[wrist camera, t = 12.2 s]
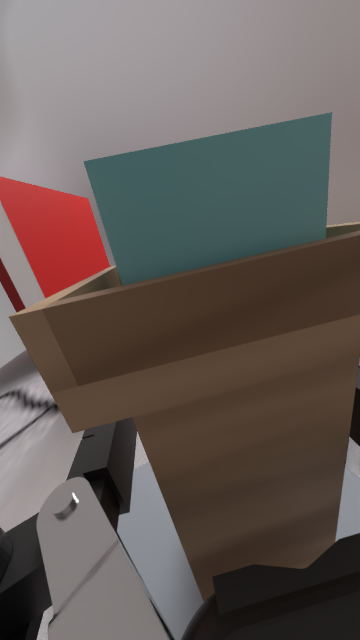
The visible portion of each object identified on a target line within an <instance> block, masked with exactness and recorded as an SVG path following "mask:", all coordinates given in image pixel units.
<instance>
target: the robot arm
mask: <svg viewBox="0 0 360 640" xmlns="http://www.w3.org/2000/svg"><path fill="white" fill-rule="evenodd" d="M136 436H137V429H136V426H135V424H134V421H133V418H132V417H131V418H127V419H124V420H120V421H116V422H112V423H109V424H105V425H101V426H97V427H94V428H90V429H86V430H85V431H84V434H83V437H82V440H81V442H80V445H79V448H78V450H77V453H76V456H75V458H74V461H73V464H72V466H71V469H70V472H69V474H68V477H67V480H66V481H65V482H64V483H62V484H61V485H59V486H58V487H57V488H56V489H55V490H54V491H53V492H52V493H51V494H50V495H49V497H48V498H47V499H46V501H45V502H44V504H43V506H42V507H41V509H40V512H39V513H37V514H36V515H34V516H32V517H31V518H29V519H27V520H26V521H24V522H22V523H21V524H19V525H17V526H16V527H14V528H12V529H11V530H9V531H7V532H6V533H5V532H4V531H3V530H2V529H1V528H0V640H36V639H37V635H38V632H39V628H40V624H41V620H42V617H43V613H44V611H45V610H46V609H48V608H49V607H50V606H52V605H53V613H54V614H53V618H52V619H51V621H50V622H49V625H48V640H175V638H174V636H173V634H172V632H171V631H170V629H169V627H168V625H167V623H166V621H165V619H164V618H163V616H162V614H161V612H160V610H159V608H158V607H157V605H156V603H155V601H154V599H153V598H152V596H151V594H150V592H149V590H148V588H147V586H146V585H145V583H144V581H143V579H142V577H141V575H140V573H139V571H138V570H137V568H136V566H135V564H134V562H133V560H132V558H131V556H130V554H129V553H128V551H127V549H126V547H125V545H124V543H123V541H122V539H121V538H120V536H119V534H118V532H117V527H118V520H119V515H122V514H125V513H129V512H130V503H131V492H132V481H133V470H134V458H135V447H136ZM349 436H350V437H351V438H352V439H353V440H354V441H355V442H356V443H357V444H358V445H359V446H360V366H358V374H357V381H356V389H355V396H354V404H353V411H352V419H351V427H350V434H349ZM212 579H213V584H214V590H215V592H214V593H213V594H212V595H211V596H210V597H208V598H207V599H206V600H205V602H204V603H203V604H202V605H201V606H200V607H199V608H198V610H197V611H196V613H195V614H194V616H193V617H192V619H191V620H190V622H189V624H188V626H187V628H186V630H185V632H184V634H183V636H182V638H181V640H360V533H358V534H354V535H351V536H348V537H344V538H341V539H338V540H337V541H336V542H335V543H334V544H333V545H332V546H331V547H329V548H328V549H327V550H326V551H325V552H324V553H323V554H322V555H321V556H319V557H318V558H317V559H316V560H315V561H314V562H313V563H312V564H310V565H309V566H308V567H307V568H303V569H298V568H288V567H278V566H267V565H257V564H253V565H250V566H246V567H243V568H240V569H236V570H233V571H229V572H226V573H223V574H219V575H216V576H213V577H212Z"/></svg>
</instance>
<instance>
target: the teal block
mask: <svg viewBox="0 0 360 640" xmlns="http://www.w3.org/2000/svg"><path fill="white" fill-rule="evenodd" d="M331 120H332V112H331V113H326V114H321V115H316V116H311V117H306V118H301V119H296V120H291V121H286V122H280V123H276V124H271V125H265V126H261V127H255V128H250V129H245V130H240V131H235V132H230V133H225V134H220V135H215V136H210V137H205V138H200V139H195V140H189V141H184V142H180V143H174V144H170V145H165V146H160V147H154V148H149V149H144V150H139V151H134V152H129V153H124V154H119V155H114V156H109V157H104V158H98V159H94V160H88V161H84V164H85V167H86V171H87V173H88V177H89V180H90V183H91V187H92V190H93V193H94V196H95V199H96V203H97V206H98V209H99V212H100V215H101V219H102V222H103V225H104V228H105V231H106V234H107V238H108V241H109V244H110V247H111V250H112V254H113V256H114V260H115V263H116V266H117V270H118V273H119V276H120V279H121V282H122V285H127V284H131V283H136V282H140V281H144V280H149V279H153V278H157V277H162V276H166V275H170V274H175V273H179V272H183V271H187V270H192V269H196V268H200V267H205V266H209V265H213V264H218V263H222V262H226V261H231V260H235V259H239V258H243V257H248V256H252V255H256V254H261V253H265V252H269V251H274V250H278V249H282V248H287V247H291V246H295V245H300V244H304V243H308V242H312V241H317V240H321V239H325V238H326V221H327V201H328V179H329V159H330V140H331V139H330V138H331Z"/></svg>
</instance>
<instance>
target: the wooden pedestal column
mask: <svg viewBox="0 0 360 640" xmlns="http://www.w3.org/2000/svg"><path fill="white" fill-rule="evenodd" d="M9 318H10V320H11V322H12V324H13V325H14V327H15V329H16V331H17V333H18V335H19V336H20V338H21V340H22V342H23V343H24V345H25V347H26V349H27V351H28V353H29V355H30V356H31V358H32V360H33V362H34V364H35V365H36V367H37V369H38V371H39V373H40V375H41V376H42V378H43V380H44V382H45V384H46V385H47V387H48V389H49V391H50V393H51V395H52V396H53V398H54V400H55V402H56V404H57V405H58V407H59V409H60V411H61V413H62V415H63V416H64V418H65V420H66V422H67V424H68V425H69V427H70V429H71V431H72V433H75V432H79V431H82V430H86V429H90V428H94V427H97V426H101V425H105V424H109V423H112V422H116V421H120V420H124V419H127V418H131V417H132V418H133V421H134V424H135V426H136V429H137V431H138V434H139V436H140V439H141V442H142V444H143V447H144V449H145V452H146V454H147V457H148V460H149V462H150V465H151V467H152V470H153V472H154V475H155V478H156V480H157V483H158V485H159V488H160V491H161V493H162V496H163V498H164V501H165V503H166V506H167V509H168V511H169V514H170V516H171V519H172V521H173V524H174V527H175V529H176V532H177V534H178V537H179V539H180V542H181V545H182V547H183V550H184V552H185V555H186V557H187V560H188V563H189V565H190V568H191V570H192V573H193V575H194V578H195V581H196V583H197V586H198V588H199V591H200V593H201V596H202V599H203V601H204V602H205V600H206V599H207V598H208V597H210V596H211V595H212V594H213V593H214V592H215V590H214V584H213V579H212V577H213V576H216V575H219V574H223V573H226V572H229V571H233V570H236V569H240V568H243V567H246V566H250V565H253V564H257V565H267V566H278V567H288V568H298V569H303V568H307V567H308V566H309V565H310V564H312V563H313V562H314V561H315V560H316V559H317V558H318V557H319V556H321V555H322V554H323V553H324V552H325V551H326V550H327V549H328V548H329V547H331V546H332V545H333V544H334V543H335V540H336V533H337V525H338V518H339V510H340V502H341V495H342V487H343V480H344V472H345V464H346V457H347V449H348V442H349V434H350V427H351V419H352V411H353V404H354V396H355V389H356V381H357V374H358V366H359V358H360V222H353V223H345V224H336V225H329V226H326V238H325V239H321V240H317V241H312V242H308V243H304V244H300V245H295V246H291V247H287V248H282V249H278V250H274V251H269V252H265V253H261V254H256V255H252V256H248V257H243V258H239V259H235V260H231V261H226V262H222V263H218V264H213V265H209V266H205V267H200V268H196V269H192V270H187V271H183V272H179V273H175V274H170V275H166V276H162V277H157V278H153V279H149V280H144V281H140V282H136V283H131V284H127V285H122V282H121V279H120V276H119V273H118V270H117V266H113V267H109V268H107V269H105V270H103V271H101V272H99V273H97V274H94V275H92V276H90V277H88V278H86V279H84V280H82V281H80V282H78V283H76V284H74V285H72V286H70V287H68V288H66V289H64V290H62V291H60V292H58V293H56V294H54V295H52V296H50V297H48V298H46V299H44V300H42V301H40V302H38V303H36V304H34V305H32V306H30V307H28V308H26V309H24V310H21V311H19V312H17V313H15V314H13V315H11V316H9Z"/></svg>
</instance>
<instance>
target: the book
mask: <svg viewBox="0 0 360 640" xmlns="http://www.w3.org/2000/svg"><path fill="white" fill-rule="evenodd" d="M109 267H110V265H109V262H108V259H107V256H106V253H105V249H104V246H103V243H102V240H101V237H100V234H99V231H98V228H97V225H96V222H95V219H94V216H93V212H92V210H91V207H90V203H89V200H88V199H87V198H84V197H79V196H76V195H72V194H67V193H64V192H60V191H55V190H52V189H48V188H43V187H39V186H36V185H32V184H27V183H23V182H20V181H15V180H11V179H7V178H3V177H0V282H1V284H2V286H3V288H4V289H5V291H6V293H7V295H8V297H9V299H10V301H11V303H12V304H13V306H14V308H15V310H16V312H19V311H21V310H24V309H26V308H28V307H30V306H32V305H34V304H36V303H38V302H40V301H42V300H44V299H46V298H48V297H50V296H52V295H54V294H56V293H58V292H60V291H62V290H64V289H66V288H68V287H70V286H72V285H74V284H76V283H78V282H80V281H82V280H84V279H86V278H88V277H90V276H92V275H94V274H97V273H99V272H101V271H103V270H105V269H107V268H109Z"/></svg>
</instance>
